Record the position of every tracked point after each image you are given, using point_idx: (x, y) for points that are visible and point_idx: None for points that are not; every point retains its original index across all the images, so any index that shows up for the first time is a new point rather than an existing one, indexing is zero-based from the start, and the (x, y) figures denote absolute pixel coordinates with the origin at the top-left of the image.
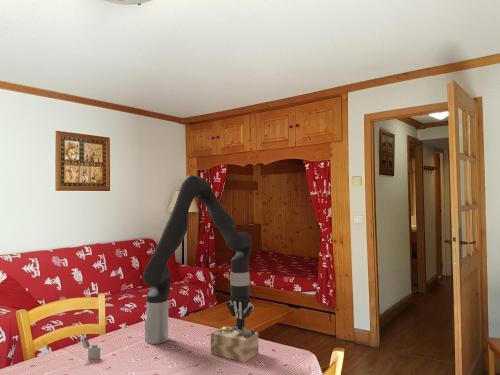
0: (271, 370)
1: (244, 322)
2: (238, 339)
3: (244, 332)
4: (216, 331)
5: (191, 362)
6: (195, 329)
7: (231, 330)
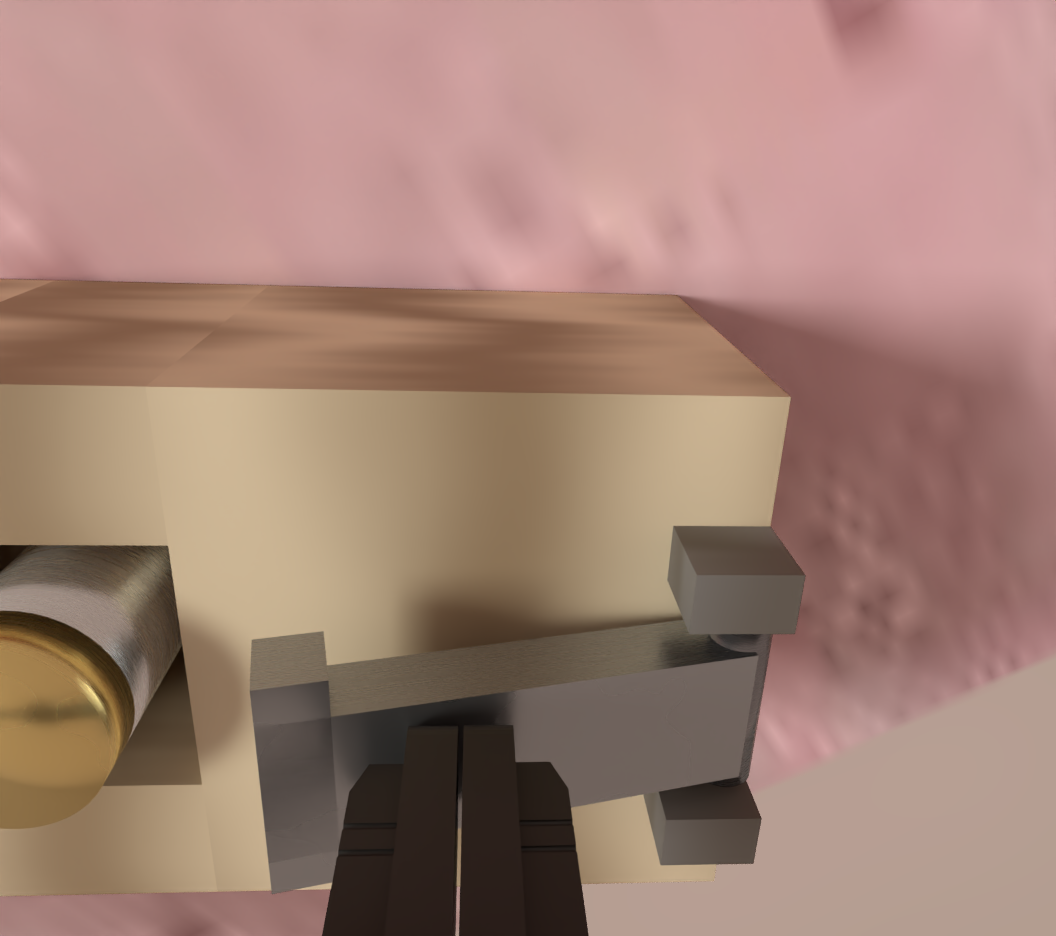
0: (1039, 660)
1: (576, 858)
2: (584, 878)
3: (621, 785)
4: None
5: (88, 922)
6: None
7: (70, 534)
